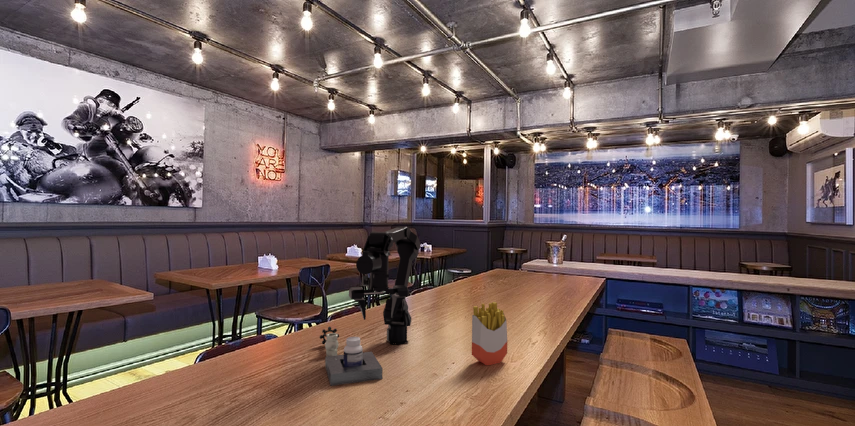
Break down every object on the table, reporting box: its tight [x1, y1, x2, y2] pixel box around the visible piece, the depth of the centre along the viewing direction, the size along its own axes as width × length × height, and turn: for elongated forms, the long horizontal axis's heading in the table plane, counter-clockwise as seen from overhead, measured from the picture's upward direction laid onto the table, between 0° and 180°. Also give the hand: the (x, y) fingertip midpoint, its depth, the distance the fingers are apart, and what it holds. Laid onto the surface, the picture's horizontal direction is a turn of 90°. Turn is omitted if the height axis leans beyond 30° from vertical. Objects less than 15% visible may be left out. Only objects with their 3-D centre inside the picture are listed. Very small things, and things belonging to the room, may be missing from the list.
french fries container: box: [471, 301, 508, 366], centre depth 121 cm, size 5×11×18 cm, turn 119°
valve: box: [319, 326, 340, 356], centre depth 129 cm, size 7×7×12 cm
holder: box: [324, 351, 383, 387], centre depth 111 cm, size 14×14×3 cm
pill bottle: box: [343, 336, 364, 368], centre depth 111 cm, size 5×5×10 cm
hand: (378, 318), depth 125 cm, fingers open, 9 cm apart
